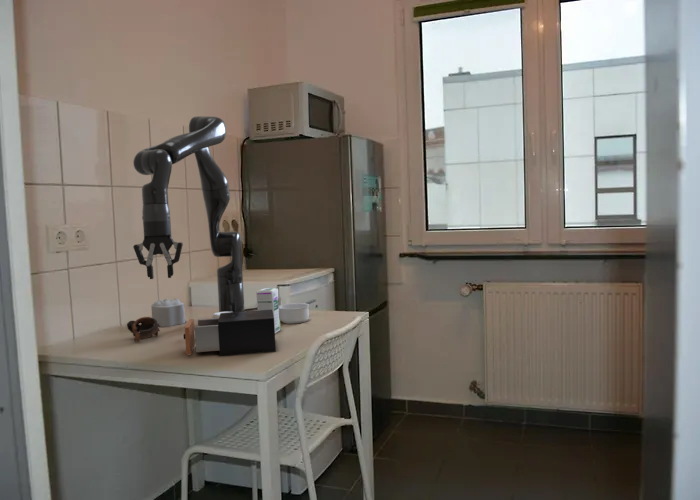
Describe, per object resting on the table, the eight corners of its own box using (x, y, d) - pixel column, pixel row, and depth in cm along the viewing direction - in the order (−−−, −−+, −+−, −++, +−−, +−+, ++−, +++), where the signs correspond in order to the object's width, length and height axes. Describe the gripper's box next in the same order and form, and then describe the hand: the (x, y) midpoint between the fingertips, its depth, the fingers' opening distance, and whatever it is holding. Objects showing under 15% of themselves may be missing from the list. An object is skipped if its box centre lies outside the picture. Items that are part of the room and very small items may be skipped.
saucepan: (328, 314, 212) (327, 300, 211) (298, 325, 195) (297, 309, 194) (303, 312, 218) (302, 298, 217) (271, 323, 200) (271, 307, 200)
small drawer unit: (219, 356, 158) (217, 322, 158) (222, 344, 172) (220, 313, 171) (275, 351, 161) (274, 318, 160) (273, 340, 175) (272, 309, 174)
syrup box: (275, 334, 183) (273, 290, 182) (258, 334, 184) (256, 290, 183) (280, 330, 188) (278, 287, 187) (264, 330, 190) (262, 287, 189)
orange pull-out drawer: (182, 355, 157) (180, 327, 156) (187, 344, 169) (185, 319, 169) (239, 350, 160) (237, 323, 159) (239, 340, 172) (238, 315, 171)
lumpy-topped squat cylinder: (162, 327, 200) (160, 303, 200) (146, 323, 210) (145, 300, 209) (188, 322, 207) (187, 299, 207) (172, 318, 217) (171, 296, 216)
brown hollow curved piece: (167, 336, 188) (165, 318, 183) (151, 355, 180) (148, 336, 176) (135, 327, 190) (132, 308, 185) (118, 345, 182) (115, 326, 178)
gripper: (183, 218, 166) (187, 275, 167) (133, 220, 164) (137, 278, 165) (180, 218, 159) (184, 278, 160) (127, 221, 156) (132, 281, 158)
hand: (160, 277), depth 163 cm, fingers open, 4 cm apart
